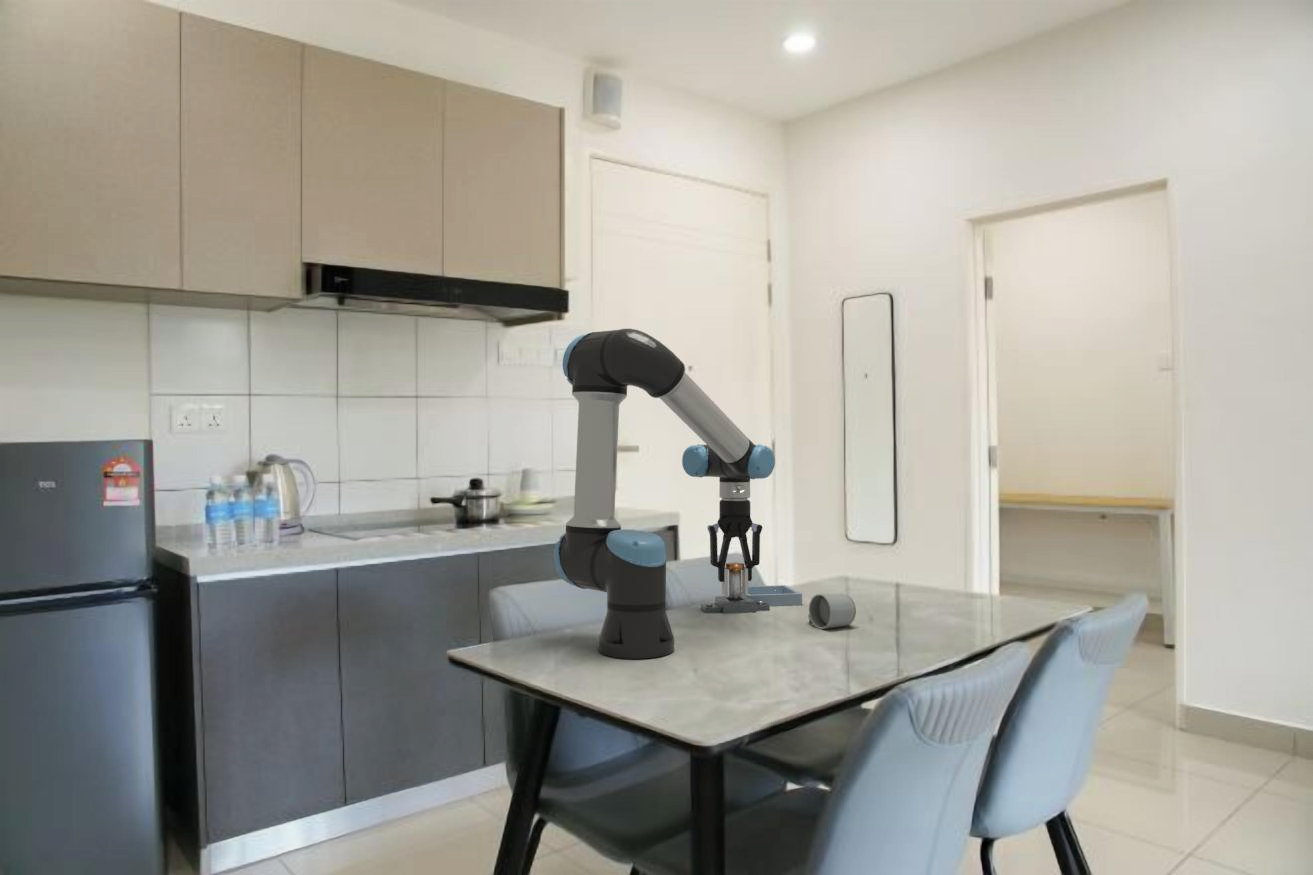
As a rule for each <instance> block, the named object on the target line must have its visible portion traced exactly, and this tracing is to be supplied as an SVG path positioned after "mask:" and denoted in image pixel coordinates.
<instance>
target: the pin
mask: <svg viewBox="0 0 1313 875" xmlns="http://www.w3.org/2000/svg"><path fill="white" fill-rule="evenodd" d="M744 567H745V563H744V562H726V564H725V568H726V569H728V596H729V601H734V600H741V587H742V570H743V569H744Z"/></svg>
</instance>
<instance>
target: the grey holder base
mask: <svg viewBox="0 0 1313 875" xmlns="http://www.w3.org/2000/svg"><path fill="white" fill-rule="evenodd" d="M714 601H715V602H714V603H712V602H706V603H700V610H702V611H703V613H723V614H741V613H742V614H743V613H745V614H747V613H756V612H758V611H759V612H763V611H764V612H765V611H770V607H771V606H770V605H768V604H767V603H765V602H764V601H757V602H755V601H754V600H753V599H751V598H749V597H748V596H746V595H745V596H741V600H734V601H729V595H728V596H724V595H719V596H715V598H714Z"/></svg>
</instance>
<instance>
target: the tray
mask: <svg viewBox="0 0 1313 875" xmlns="http://www.w3.org/2000/svg"><path fill="white" fill-rule="evenodd" d="M775 590H776V591H775ZM741 596H745V595H744V594H742V586H741ZM746 596H748V597H749V598H751V599H753V600H754V601H755V602H757V601H764V602H765V603H767V604H768V605H770V607H779V606H780V607H784V606H786V607H787V606H802V605H803V593H801V592H799V591H797V590H796V589H794V588H792V587H790V586H789V585H785V584H779V585H777V584H776V585H750V586H749V585H748V595H746Z"/></svg>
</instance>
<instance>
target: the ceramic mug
mask: <svg viewBox="0 0 1313 875" xmlns="http://www.w3.org/2000/svg"><path fill="white" fill-rule="evenodd" d="M809 601H810V602H809V606H808V620H809V622H810V623H812V625H813V626H814V627H815V628H817V629H818V630H826V629H833V628H842V627H846V626H849V625H851V624H852V623H853V622H854V620H855V617H856V614H857V609H856V603H855V601H854V600H853V599H852V597H850V596H849V595H847V594H843V593H817V594H815V595H814V596H812V598H811V599H810V600H809Z"/></svg>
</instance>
